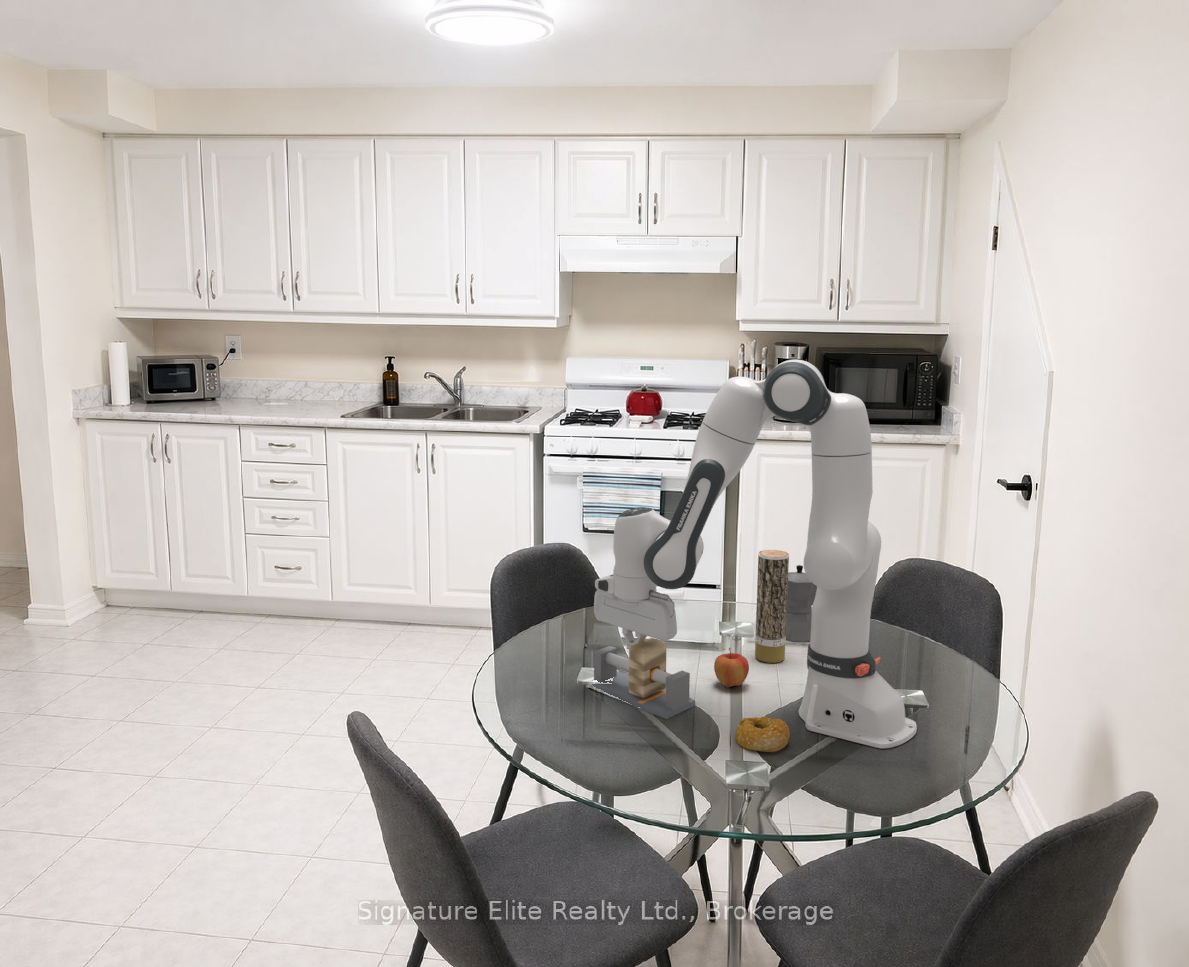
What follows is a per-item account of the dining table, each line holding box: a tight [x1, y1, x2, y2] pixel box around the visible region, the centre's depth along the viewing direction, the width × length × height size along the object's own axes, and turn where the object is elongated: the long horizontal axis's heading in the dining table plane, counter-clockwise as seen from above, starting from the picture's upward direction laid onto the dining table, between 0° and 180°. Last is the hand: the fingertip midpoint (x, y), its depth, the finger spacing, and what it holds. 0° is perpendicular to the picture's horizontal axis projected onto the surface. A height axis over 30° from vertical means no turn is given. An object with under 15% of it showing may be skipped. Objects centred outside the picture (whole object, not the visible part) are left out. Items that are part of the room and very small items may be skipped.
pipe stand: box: [592, 645, 696, 720], centre depth 197 cm, size 22×9×8 cm, turn 46°
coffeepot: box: [786, 564, 817, 643], centre depth 232 cm, size 15×9×18 cm, turn 70°
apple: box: [713, 647, 750, 689], centre depth 203 cm, size 7×7×8 cm
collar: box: [628, 637, 667, 698], centre depth 195 cm, size 4×7×10 cm, turn 136°
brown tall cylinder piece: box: [754, 549, 790, 664], centre depth 217 cm, size 7×7×25 cm
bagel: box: [735, 716, 791, 753], centre depth 178 cm, size 10×11×5 cm
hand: (634, 650), depth 197 cm, fingers closed
